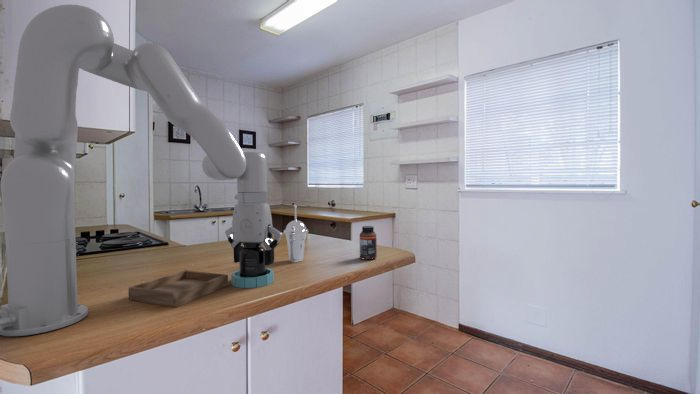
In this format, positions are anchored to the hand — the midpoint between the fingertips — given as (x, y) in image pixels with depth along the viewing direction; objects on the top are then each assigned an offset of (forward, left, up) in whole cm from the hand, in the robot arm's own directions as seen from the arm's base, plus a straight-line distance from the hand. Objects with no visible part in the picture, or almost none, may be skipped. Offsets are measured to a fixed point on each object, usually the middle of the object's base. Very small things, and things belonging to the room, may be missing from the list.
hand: (253, 262), depth 88 cm
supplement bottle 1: (0, 0, -5) cm, 5 cm away
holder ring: (0, 0, -5) cm, 5 cm away
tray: (-13, +11, -5) cm, 18 cm away
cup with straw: (+25, +1, -5) cm, 25 cm away
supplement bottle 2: (+37, -21, -5) cm, 43 cm away
